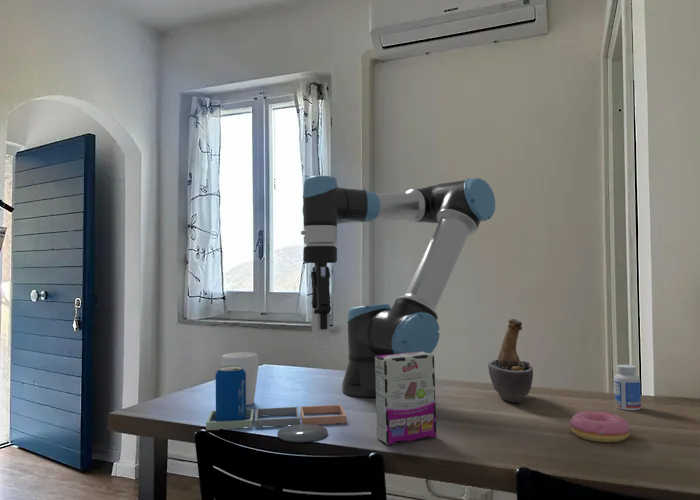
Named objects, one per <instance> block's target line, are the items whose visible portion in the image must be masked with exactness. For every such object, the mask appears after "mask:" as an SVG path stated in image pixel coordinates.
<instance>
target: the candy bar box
mask: <svg viewBox="0 0 700 500" xmlns="http://www.w3.org/2000/svg"><path fill="white" fill-rule="evenodd" d="M435 375H436V374H435V354H433V353H431V354H430V353H427V352H413V353H402V354H393V355H383V356H375V379H376V397H375V407H376V408H375V409H376V411H375V412H376V415H375V416H376V438H377V440H379V441H380V440H381V441H380V442H382V441H383V442H384V444H385V443H386V444H385V445H387V446H391V445H390V444H392V445H396V444H395V443H399V444H403V443H402V442H405V443H409V442H408V441H411V442H414V441H413V440H417V441H420V440H419V439H422V440H427V439H426V438H428V439H433V437H434V438H437V413H436V412H437V410H436V409H437V408H436V406H437V405H436V379H435V378H436V377H435ZM383 442H382V443H383Z"/></svg>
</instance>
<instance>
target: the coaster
mask: <svg viewBox="0 0 700 500" xmlns="http://www.w3.org/2000/svg"><path fill="white" fill-rule="evenodd" d="M326 435H328V429H327V428H326V427H324V426H322V425H312V424H302V423H300V424H299V425H291V426H283V427H281V428H279V429H278V431H277V438H278V437H279V438H278V439H280V440H282V441H284V442H289V443H290V442H291V443H309V442H316V441H319V439H320V440H322V439H324V438H326V437H327V436H326ZM325 436H326V437H325Z"/></svg>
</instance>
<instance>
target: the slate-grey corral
mask: <svg viewBox="0 0 700 500" xmlns="http://www.w3.org/2000/svg"><path fill="white" fill-rule="evenodd" d="M262 415H274V416H285V415H286V416H288V415H290V416H291V415H294V416H295V417H281V418H278V417H277V418H261V419H260V418H259V417H263V416H262ZM299 424H301V415H300V409H299V407H298V406H289V407H288V406H287V407H285V406H283V407H265V408H261V407H260V408H256V409H255V413H254V428H255V427H262V428H264V427H263V426H282V427H287V426H288V425H299Z"/></svg>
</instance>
